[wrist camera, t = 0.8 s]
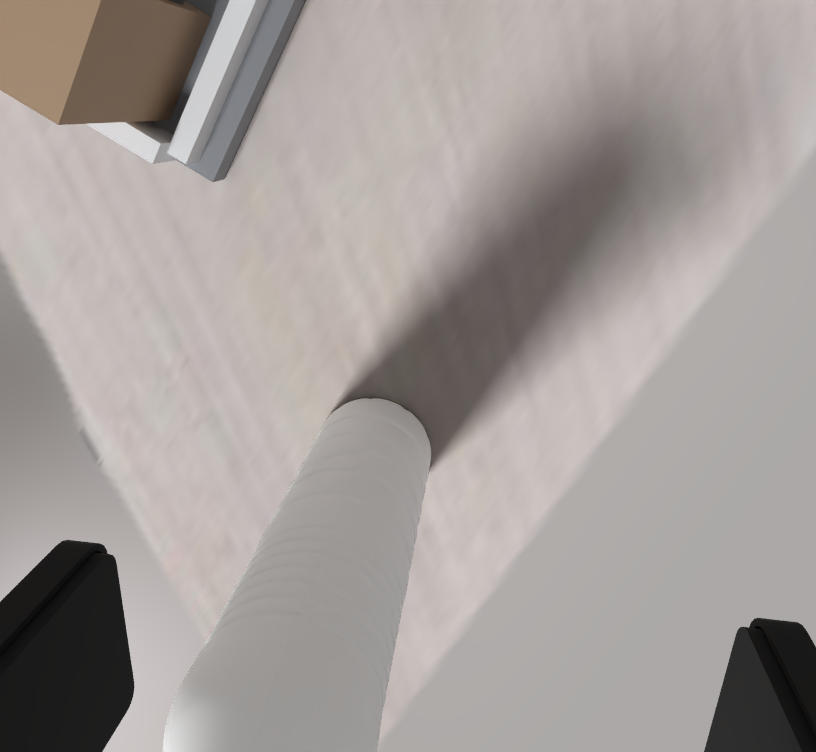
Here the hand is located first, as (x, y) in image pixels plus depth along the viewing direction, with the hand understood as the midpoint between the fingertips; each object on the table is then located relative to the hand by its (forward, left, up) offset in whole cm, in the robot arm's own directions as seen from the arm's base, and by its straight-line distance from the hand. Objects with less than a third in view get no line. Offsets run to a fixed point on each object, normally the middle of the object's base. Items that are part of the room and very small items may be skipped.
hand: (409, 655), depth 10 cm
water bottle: (+12, +2, -27) cm, 29 cm away
